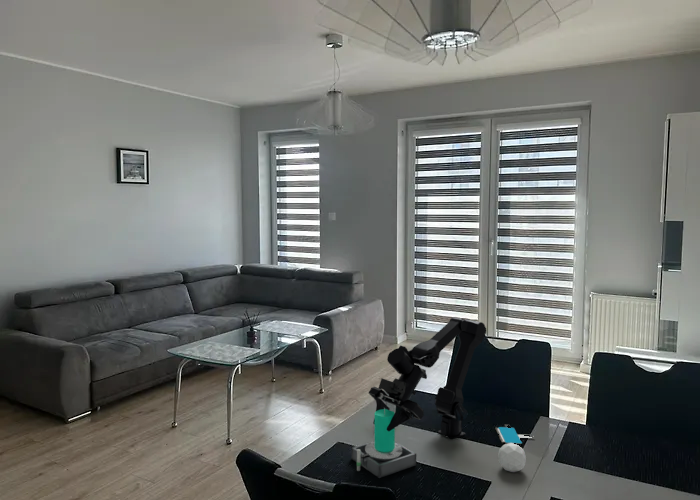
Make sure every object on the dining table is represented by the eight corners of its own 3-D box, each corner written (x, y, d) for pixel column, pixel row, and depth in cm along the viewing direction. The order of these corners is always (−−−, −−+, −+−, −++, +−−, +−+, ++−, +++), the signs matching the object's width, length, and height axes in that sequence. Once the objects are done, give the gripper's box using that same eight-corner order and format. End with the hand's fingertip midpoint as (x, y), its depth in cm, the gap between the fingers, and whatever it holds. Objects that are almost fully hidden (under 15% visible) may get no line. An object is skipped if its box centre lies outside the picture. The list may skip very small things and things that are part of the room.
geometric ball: (516, 482, 153) (522, 469, 147) (490, 465, 156) (495, 452, 151) (527, 462, 157) (533, 448, 152) (502, 446, 161) (507, 432, 156)
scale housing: (387, 447, 168) (387, 429, 167) (416, 465, 157) (416, 445, 156) (343, 461, 159) (343, 441, 158) (371, 480, 147) (371, 459, 147)
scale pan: (386, 440, 166) (386, 437, 166) (410, 454, 157) (410, 451, 157) (350, 451, 158) (350, 448, 158) (373, 466, 149) (373, 463, 149)
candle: (386, 454, 154) (386, 413, 153) (370, 447, 158) (370, 408, 157) (398, 446, 159) (398, 407, 157) (382, 440, 162) (382, 402, 161)
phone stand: (542, 453, 166) (542, 448, 166) (502, 451, 167) (503, 446, 167) (526, 427, 186) (526, 422, 186) (491, 425, 187) (491, 421, 187)
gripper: (372, 360, 166) (345, 404, 160) (417, 375, 152) (389, 423, 145) (390, 380, 172) (365, 422, 165) (435, 396, 157) (409, 443, 151)
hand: (380, 427), depth 157 cm, fingers closed on candle, 5 cm apart
